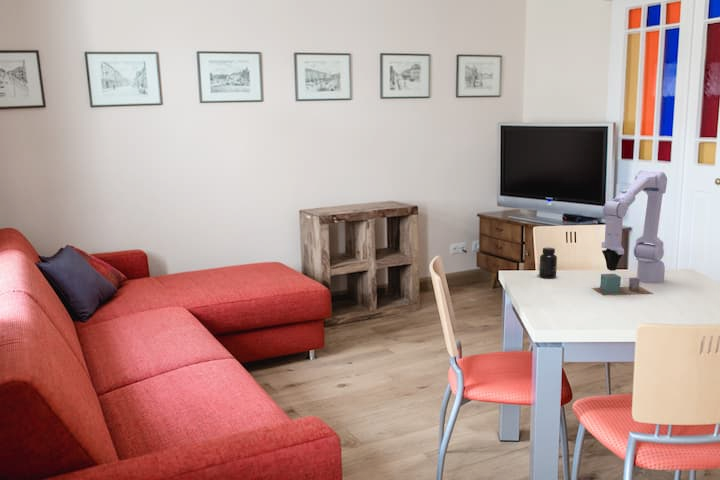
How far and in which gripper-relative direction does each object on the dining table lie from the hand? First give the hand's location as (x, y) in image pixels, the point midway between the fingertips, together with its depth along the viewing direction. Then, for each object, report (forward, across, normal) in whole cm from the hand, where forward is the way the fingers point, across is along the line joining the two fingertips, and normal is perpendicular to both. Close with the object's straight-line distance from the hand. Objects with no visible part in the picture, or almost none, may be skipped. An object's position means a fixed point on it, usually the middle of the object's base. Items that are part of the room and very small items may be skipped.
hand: (611, 269), depth 246 cm
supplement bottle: (+9, -28, -14) cm, 33 cm away
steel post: (+8, 0, +9) cm, 12 cm away
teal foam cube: (+8, 0, 0) cm, 8 cm away
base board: (+9, 0, +4) cm, 10 cm away
